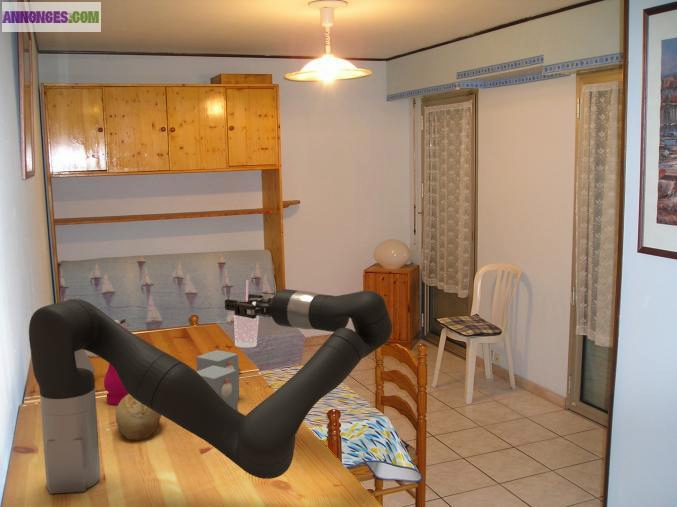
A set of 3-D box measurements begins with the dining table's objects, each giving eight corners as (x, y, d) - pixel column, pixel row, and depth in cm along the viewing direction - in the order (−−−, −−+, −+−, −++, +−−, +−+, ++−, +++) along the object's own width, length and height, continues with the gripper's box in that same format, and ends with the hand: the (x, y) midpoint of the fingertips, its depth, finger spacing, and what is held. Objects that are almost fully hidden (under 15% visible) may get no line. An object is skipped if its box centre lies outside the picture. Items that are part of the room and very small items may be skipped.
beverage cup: (228, 342, 150) (230, 278, 148) (256, 341, 152) (258, 277, 150) (234, 348, 144) (235, 281, 143) (263, 347, 146) (264, 281, 145)
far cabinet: (241, 398, 170) (239, 354, 168) (221, 406, 164) (219, 361, 162) (218, 392, 174) (216, 350, 172) (198, 400, 168) (196, 356, 166)
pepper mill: (126, 406, 165) (122, 324, 162) (98, 404, 166) (94, 323, 163) (141, 396, 172) (137, 317, 169) (114, 394, 173) (110, 316, 170)
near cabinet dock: (284, 425, 152) (283, 376, 151) (251, 442, 143) (249, 390, 142) (221, 408, 163) (219, 363, 161) (186, 423, 154) (184, 375, 152)
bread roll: (160, 414, 160) (158, 381, 158) (165, 439, 145) (163, 402, 144) (116, 420, 157) (114, 385, 156) (117, 445, 143) (115, 408, 141)
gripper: (278, 335, 134) (213, 325, 143) (320, 320, 146) (258, 312, 155) (277, 297, 133) (212, 289, 142) (319, 285, 145) (257, 279, 154)
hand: (236, 301), depth 148 cm, fingers closed on beverage cup, 6 cm apart
